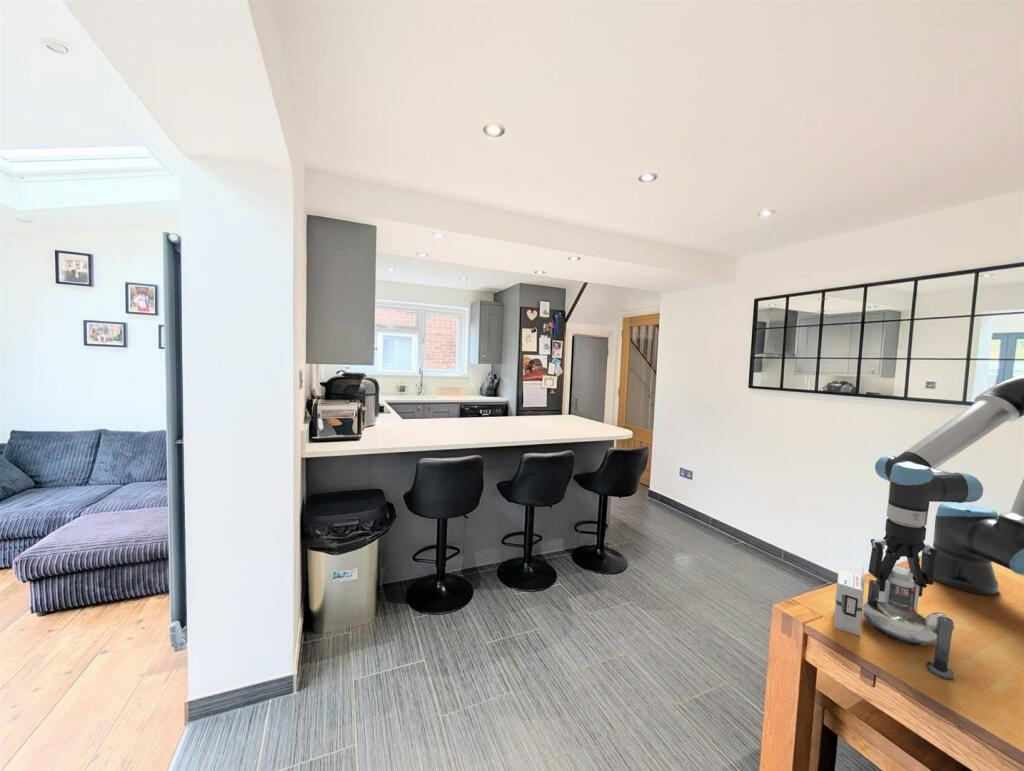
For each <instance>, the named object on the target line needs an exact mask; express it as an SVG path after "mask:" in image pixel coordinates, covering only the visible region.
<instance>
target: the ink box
mask: <svg viewBox="0 0 1024 771" xmlns="http://www.w3.org/2000/svg"><path fill="white" fill-rule="evenodd" d="M861 573H862V575H860V574H858V573H853V572H850V571H847V570H842V569H838V573H837V579H836V580H837V582H836V591H835V592H836V594H835V604H834V605H835V607H834V624H833V625H834V628H835V629H838V630H841V631H844V632H847V633H850V634H852V635H856V636H859V637H860V636H861V627H862V624H861V623H862V616H863V615H862V614H863V605H864V592H865V580H866V579H865V566H864V565H863V564H862V572H861Z"/></svg>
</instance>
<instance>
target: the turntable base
mask: <svg viewBox="0 0 1024 771" xmlns="http://www.w3.org/2000/svg"><path fill="white" fill-rule="evenodd" d="M872 625H873V624H872ZM873 627H874V628H875V629H876V631H878V632H879V633H880V634H883V635H884V636H886V637H887V638H888V639H889V638H890V639H892V640H893V641H895V642H898V643H901V644H904V645H909V646H915V647H916V646H918V647H919V646H923V645H924V644H920V643H914V642H910V641H907V640H903V639H900V638H898V637H895V636H893V635H891V634H888V633H886V632H884V631H882V630H881V629H879V628H877V627H876V626H874V625H873Z"/></svg>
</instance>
